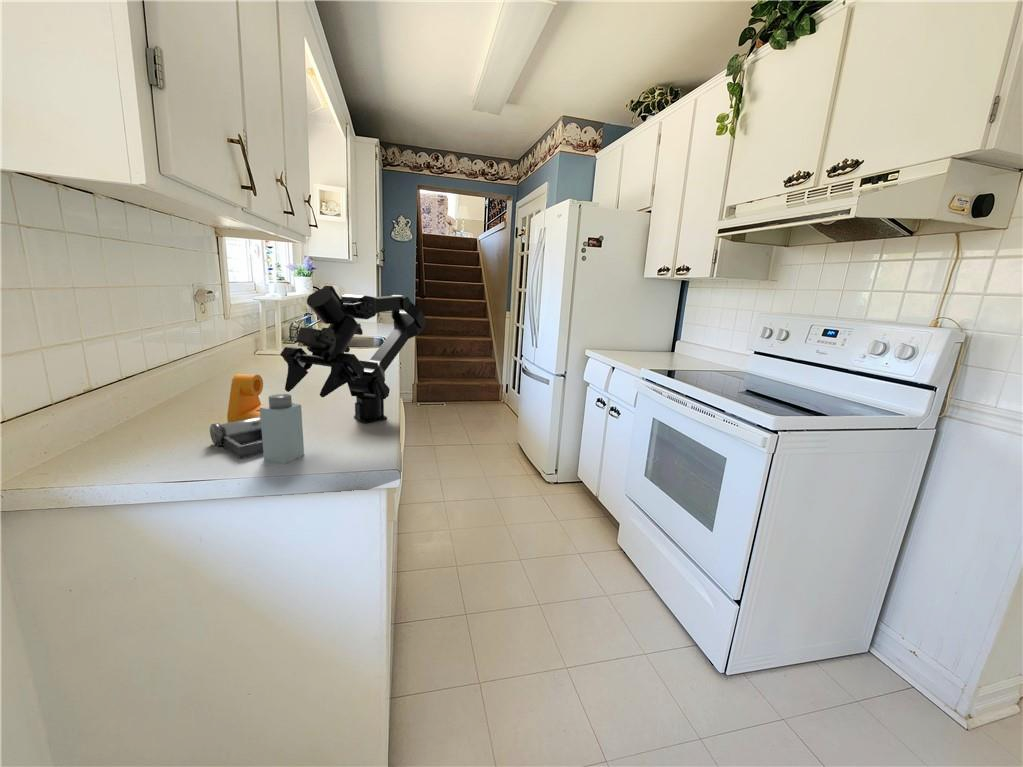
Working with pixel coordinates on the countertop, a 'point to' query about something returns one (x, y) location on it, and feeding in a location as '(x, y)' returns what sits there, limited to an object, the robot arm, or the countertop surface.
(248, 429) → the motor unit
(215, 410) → the countertop surface
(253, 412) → the bracket
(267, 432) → the grey capped bottle
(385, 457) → the countertop surface
